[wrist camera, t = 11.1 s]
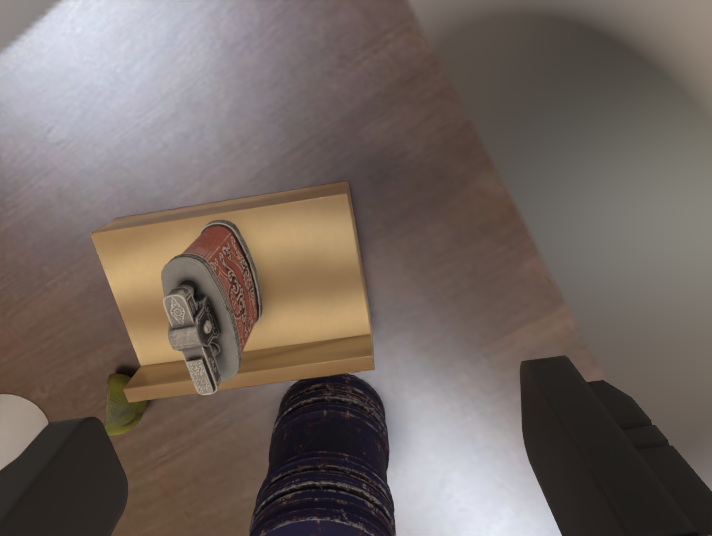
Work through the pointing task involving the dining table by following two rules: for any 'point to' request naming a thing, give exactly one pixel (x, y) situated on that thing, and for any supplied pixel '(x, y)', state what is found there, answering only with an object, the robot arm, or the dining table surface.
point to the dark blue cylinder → (327, 463)
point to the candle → (18, 426)
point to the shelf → (277, 281)
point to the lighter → (212, 303)
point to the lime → (121, 407)
